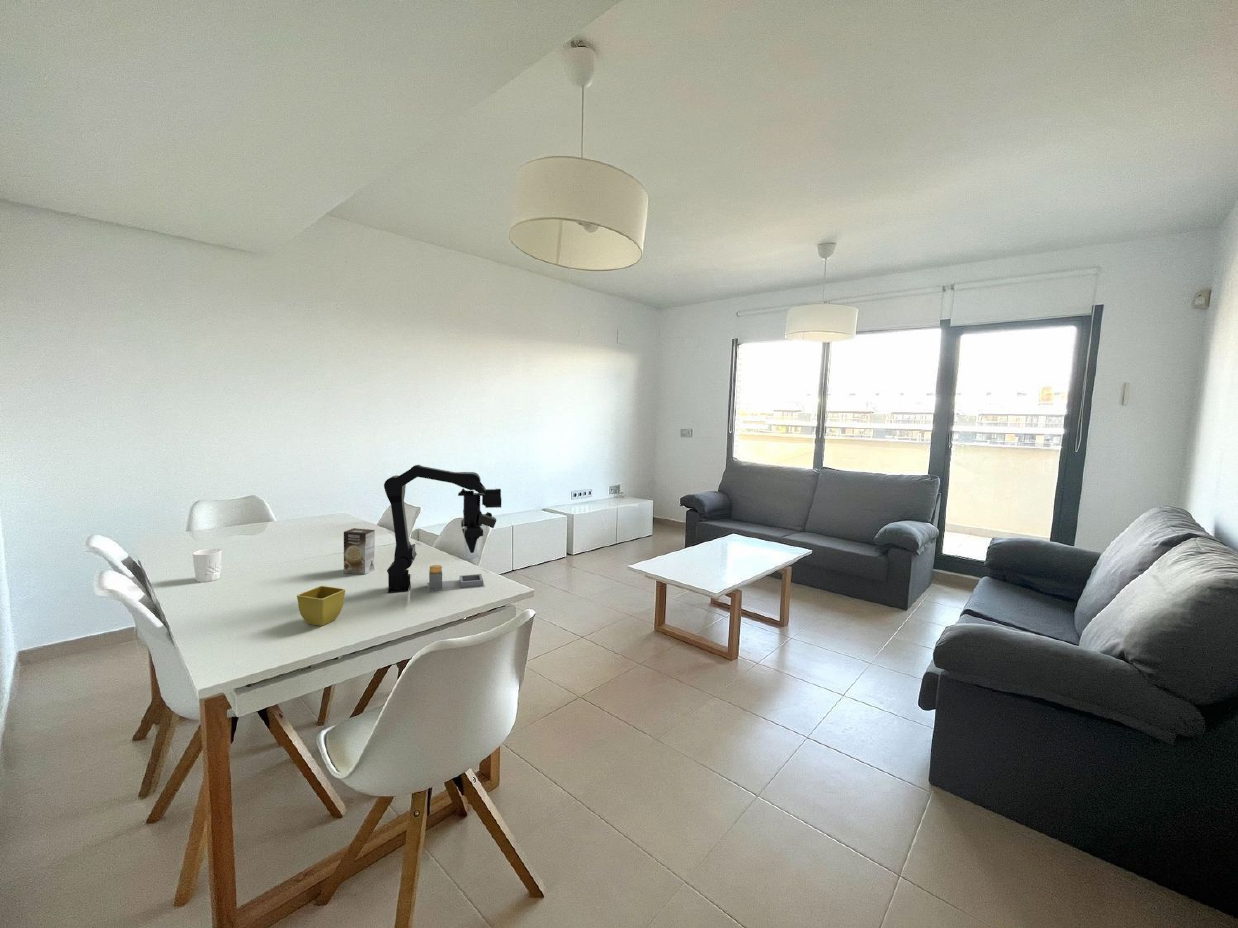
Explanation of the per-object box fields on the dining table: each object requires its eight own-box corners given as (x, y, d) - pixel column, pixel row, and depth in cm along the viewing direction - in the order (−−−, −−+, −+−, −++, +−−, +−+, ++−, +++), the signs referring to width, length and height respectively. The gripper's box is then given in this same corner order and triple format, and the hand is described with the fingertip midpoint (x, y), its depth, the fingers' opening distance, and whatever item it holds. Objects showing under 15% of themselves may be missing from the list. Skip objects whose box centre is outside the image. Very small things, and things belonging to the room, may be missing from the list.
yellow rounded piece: (429, 585, 166) (429, 568, 165) (429, 582, 169) (429, 565, 169) (441, 584, 167) (441, 567, 167) (441, 581, 171) (441, 564, 170)
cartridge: (464, 559, 169) (465, 534, 168) (463, 555, 173) (463, 530, 173) (479, 558, 171) (479, 533, 170) (478, 554, 175) (478, 530, 175)
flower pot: (346, 618, 142) (346, 588, 141) (322, 630, 133) (321, 598, 132) (321, 614, 144) (321, 585, 143) (296, 626, 135) (295, 595, 134)
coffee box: (342, 573, 182) (342, 531, 180) (353, 568, 188) (353, 527, 187) (365, 574, 181) (365, 532, 179) (375, 569, 187) (375, 529, 186)
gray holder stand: (427, 594, 163) (427, 577, 162) (427, 584, 172) (427, 568, 172) (484, 588, 170) (485, 572, 169) (482, 580, 179) (482, 564, 179)
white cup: (226, 578, 171) (225, 551, 170) (198, 584, 165) (197, 556, 164) (217, 574, 176) (216, 547, 175) (190, 579, 169) (189, 552, 168)
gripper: (498, 511, 165) (498, 556, 166) (491, 502, 182) (491, 543, 183) (464, 513, 161) (464, 558, 162) (461, 503, 178) (460, 544, 179)
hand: (471, 550), depth 172 cm, fingers closed on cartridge, 5 cm apart
